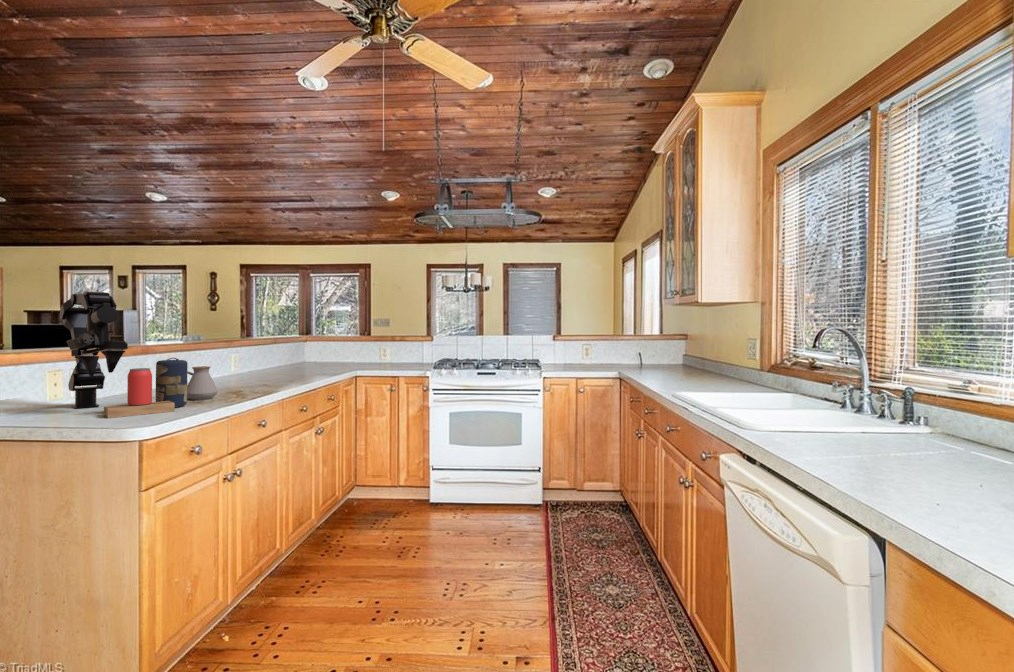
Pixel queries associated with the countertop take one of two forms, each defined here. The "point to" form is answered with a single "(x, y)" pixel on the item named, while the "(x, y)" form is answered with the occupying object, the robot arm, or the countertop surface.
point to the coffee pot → (201, 384)
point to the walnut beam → (138, 409)
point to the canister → (171, 381)
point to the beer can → (139, 387)
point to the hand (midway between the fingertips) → (101, 374)
